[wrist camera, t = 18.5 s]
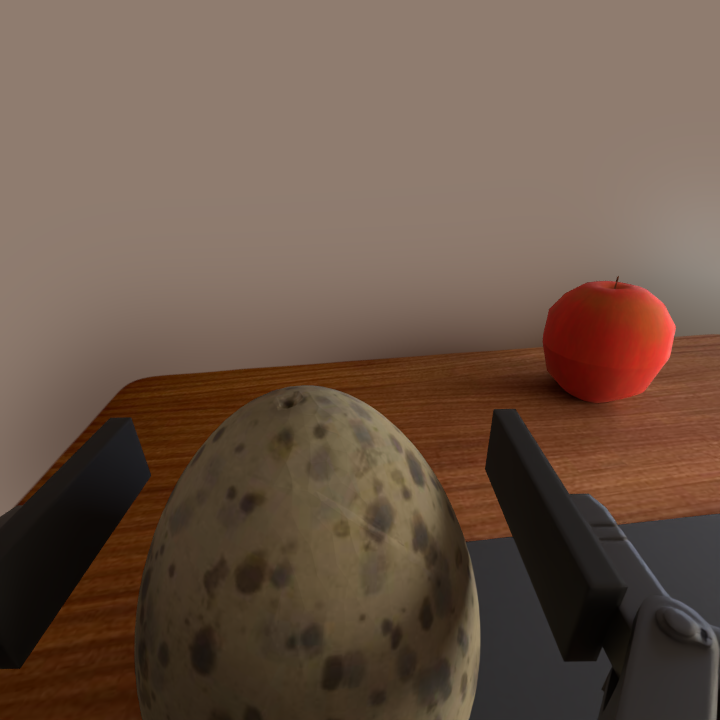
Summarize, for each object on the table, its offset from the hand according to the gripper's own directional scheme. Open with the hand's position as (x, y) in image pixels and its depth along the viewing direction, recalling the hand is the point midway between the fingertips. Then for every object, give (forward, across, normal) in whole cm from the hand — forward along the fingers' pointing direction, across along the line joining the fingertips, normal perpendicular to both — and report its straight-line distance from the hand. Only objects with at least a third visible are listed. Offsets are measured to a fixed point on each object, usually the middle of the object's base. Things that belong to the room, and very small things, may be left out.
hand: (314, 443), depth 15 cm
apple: (+22, +24, -12) cm, 35 cm away
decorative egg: (-3, 0, -11) cm, 12 cm away
